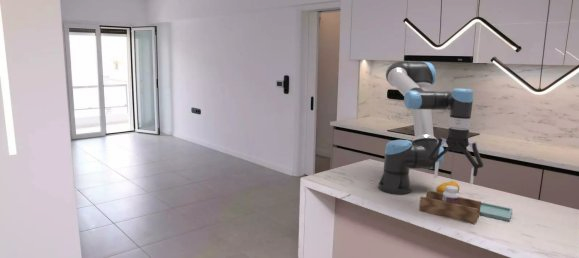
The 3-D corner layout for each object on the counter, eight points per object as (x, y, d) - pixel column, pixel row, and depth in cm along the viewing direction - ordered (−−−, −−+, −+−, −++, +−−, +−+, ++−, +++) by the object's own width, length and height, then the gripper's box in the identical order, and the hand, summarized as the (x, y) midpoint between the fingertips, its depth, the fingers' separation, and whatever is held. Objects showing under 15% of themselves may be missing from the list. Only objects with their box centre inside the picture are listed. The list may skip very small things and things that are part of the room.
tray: (474, 214, 164) (474, 210, 164) (479, 205, 175) (479, 201, 174) (509, 221, 157) (509, 218, 157) (512, 212, 168) (512, 208, 168)
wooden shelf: (419, 210, 166) (420, 196, 165) (425, 203, 174) (427, 190, 173) (475, 224, 154) (477, 209, 153) (479, 215, 163) (481, 201, 162)
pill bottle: (460, 214, 163) (463, 188, 161) (451, 217, 160) (454, 190, 158) (447, 209, 168) (449, 184, 166) (437, 211, 165) (440, 186, 163)
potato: (430, 198, 181) (432, 183, 180) (448, 192, 190) (449, 178, 188) (445, 203, 175) (446, 187, 174) (462, 197, 184) (464, 182, 183)
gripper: (424, 125, 161) (419, 176, 165) (492, 133, 148) (485, 188, 152) (429, 123, 167) (424, 172, 171) (495, 131, 154) (488, 184, 158)
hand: (453, 180), depth 161 cm, fingers open, 13 cm apart
